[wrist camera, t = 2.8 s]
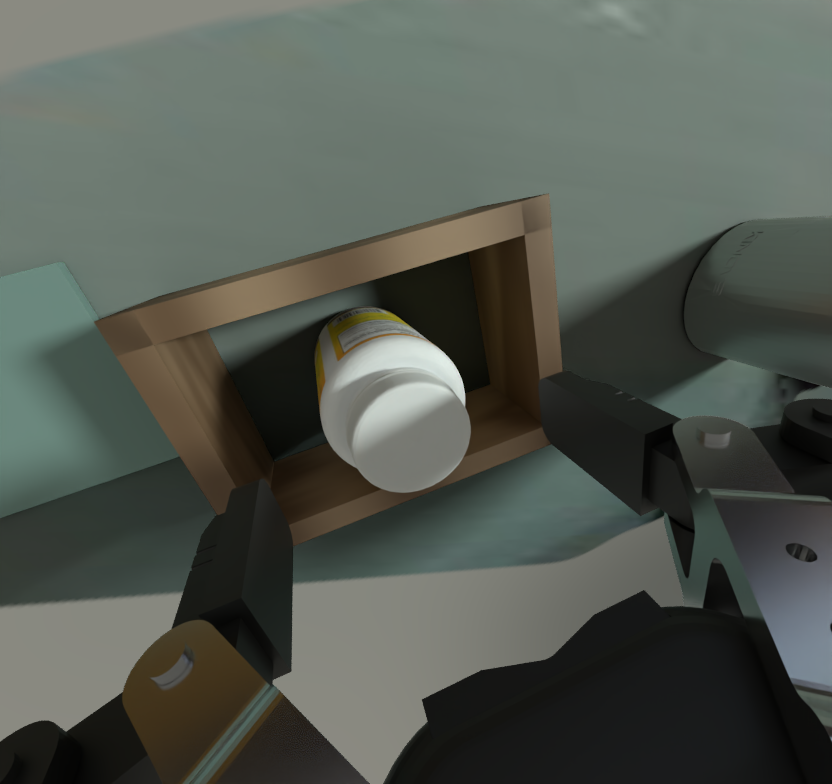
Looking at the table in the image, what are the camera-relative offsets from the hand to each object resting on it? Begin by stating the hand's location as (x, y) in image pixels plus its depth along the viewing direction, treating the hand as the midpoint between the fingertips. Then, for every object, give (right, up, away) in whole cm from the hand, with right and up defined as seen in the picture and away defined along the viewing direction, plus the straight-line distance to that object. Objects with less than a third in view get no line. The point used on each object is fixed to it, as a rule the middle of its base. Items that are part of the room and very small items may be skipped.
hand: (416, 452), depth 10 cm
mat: (-18, +1, +7) cm, 20 cm away
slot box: (-3, +4, +10) cm, 11 cm away
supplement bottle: (-3, +4, +11) cm, 12 cm away
